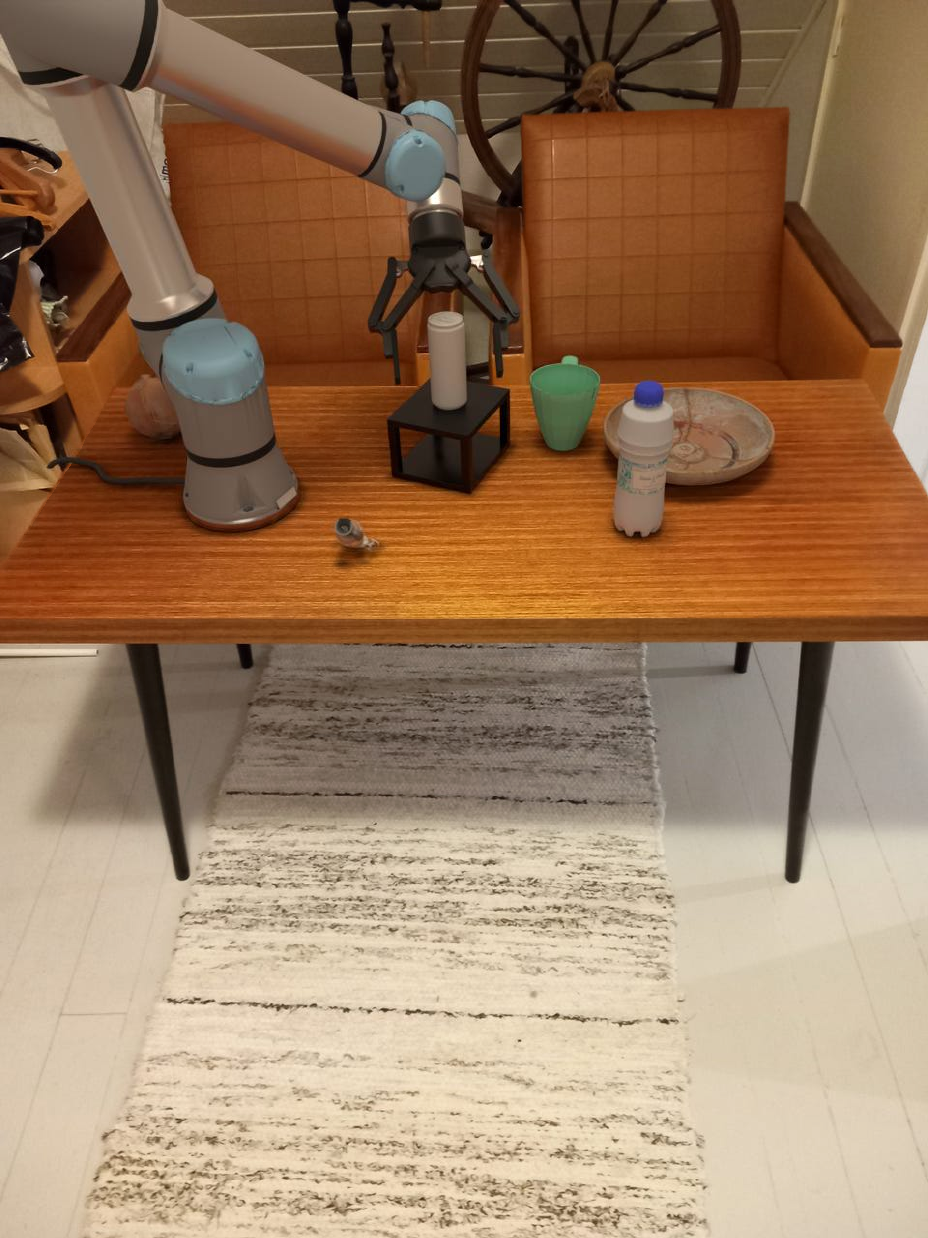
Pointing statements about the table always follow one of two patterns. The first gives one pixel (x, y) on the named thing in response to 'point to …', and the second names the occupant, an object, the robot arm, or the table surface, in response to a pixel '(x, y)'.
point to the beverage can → (447, 360)
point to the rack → (450, 438)
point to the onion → (151, 409)
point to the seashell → (351, 533)
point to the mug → (564, 401)
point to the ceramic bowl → (707, 435)
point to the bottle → (643, 460)
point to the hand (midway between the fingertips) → (449, 378)
